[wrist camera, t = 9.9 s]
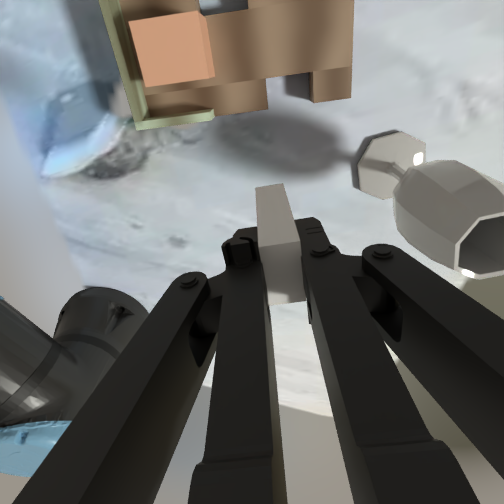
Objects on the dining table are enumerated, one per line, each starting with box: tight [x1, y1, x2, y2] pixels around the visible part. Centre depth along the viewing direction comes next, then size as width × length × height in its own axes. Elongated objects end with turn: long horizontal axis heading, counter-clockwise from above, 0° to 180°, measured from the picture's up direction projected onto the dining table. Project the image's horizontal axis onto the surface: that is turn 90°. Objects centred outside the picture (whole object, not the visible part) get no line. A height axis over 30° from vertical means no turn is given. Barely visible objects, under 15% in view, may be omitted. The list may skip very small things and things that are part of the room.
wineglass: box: [357, 131, 504, 280], centre depth 31 cm, size 9×9×21 cm
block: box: [128, 11, 215, 87], centre depth 30 cm, size 6×5×5 cm
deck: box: [98, 0, 354, 130], centre depth 32 cm, size 23×12×6 cm, turn 97°
